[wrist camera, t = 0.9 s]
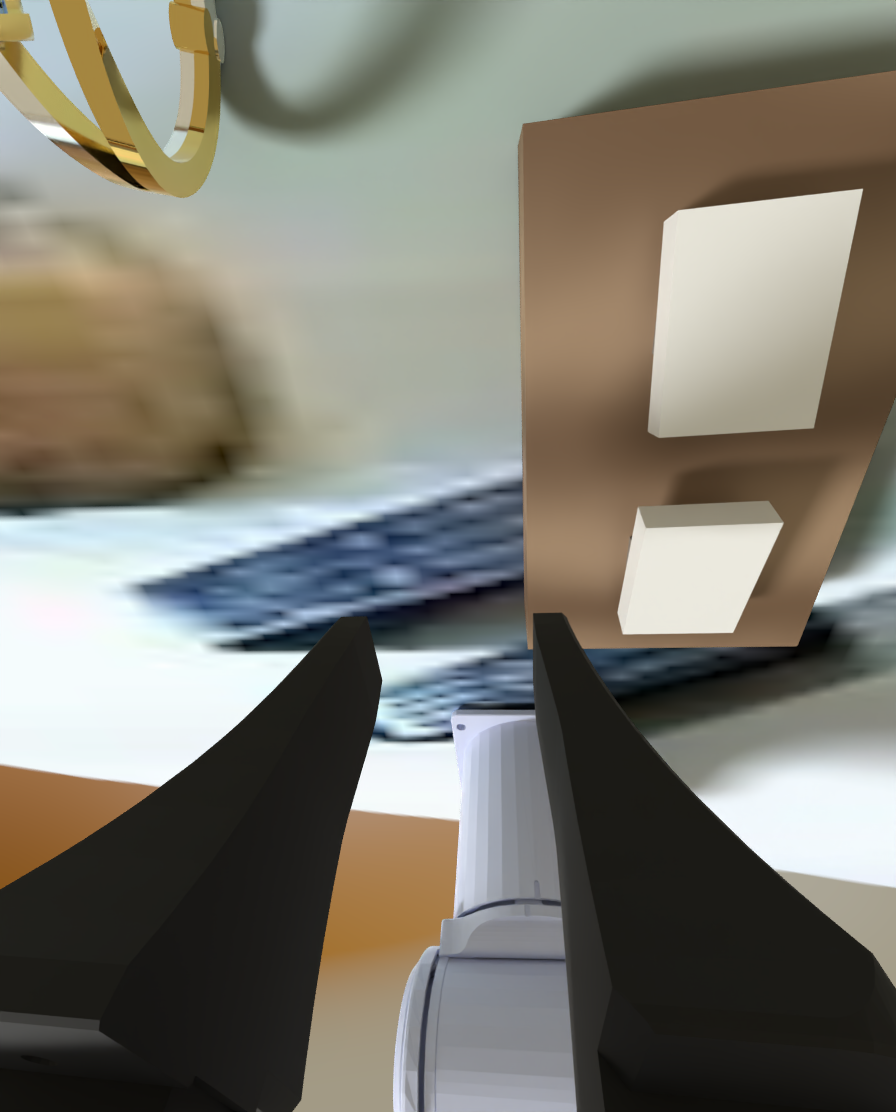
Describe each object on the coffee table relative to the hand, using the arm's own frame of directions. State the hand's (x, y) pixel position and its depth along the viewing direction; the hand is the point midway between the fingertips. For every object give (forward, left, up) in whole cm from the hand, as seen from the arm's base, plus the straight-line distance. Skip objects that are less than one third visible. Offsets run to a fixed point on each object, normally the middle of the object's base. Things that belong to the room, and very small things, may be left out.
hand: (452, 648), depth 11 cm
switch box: (+2, -7, -9) cm, 12 cm away
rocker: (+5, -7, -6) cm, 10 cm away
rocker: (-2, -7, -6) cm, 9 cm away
